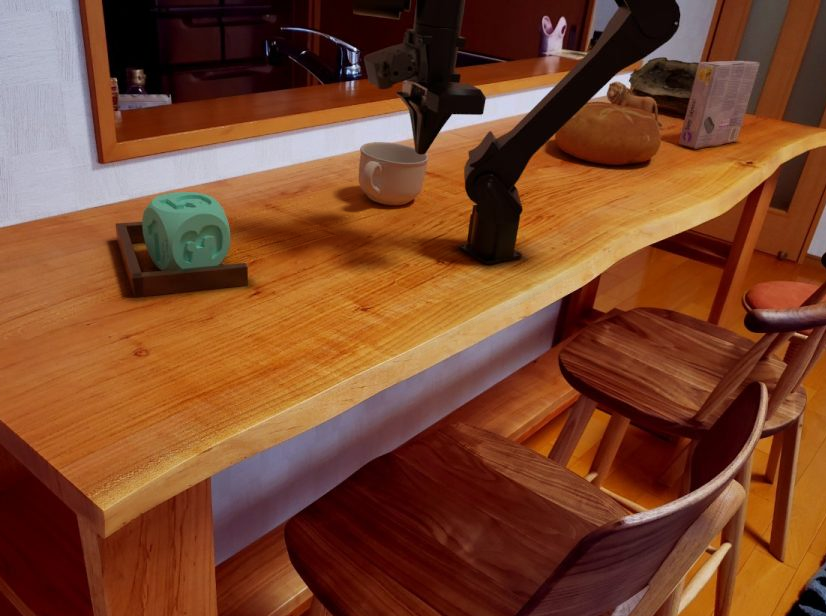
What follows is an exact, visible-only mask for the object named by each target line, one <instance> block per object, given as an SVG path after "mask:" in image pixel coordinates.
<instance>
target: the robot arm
mask: <svg viewBox="0 0 826 616" xmlns="http://www.w3.org/2000/svg"><path fill="white" fill-rule="evenodd" d="M613 1H614V2H615V4H616V6H617V7H618V8H617V10H616V11H615V13H613V15H612V16H611V17H610V20H609V21H608V22H607V24H606V26H605V27H604V29H603V30H602V33H601V34H600V36H599V38H598V40H597V41H596V43H595V44H594V46H593V47H592V48H591V49H590V50H589V52H587V53H586V54H585V55H584V56H583V57H582V59H581V60H579V61H578V63H577V64H576V65H575V66H573V67H572V68H571V69H570V70H569V71H568V73H567V74H566V75H565V76H563V78H561V80H559V82H558V83H556V85H555V86H554V87H552V89H550V90H549V91H548V93H547V94H546V95H545V96H544V97H542V99H541V100H540V101H539V102H538V103H537V104H536V105H535V106H534V107H533V108H532V109H531V110H530V111H529V112H527V114H526V115H525V116H524V117H523V118H522V119H521V120H520V121H519V122H518V123H517V124H516V125H515V126H514V127H513V128H512V129H510V130H509V131H508V132H506V133H504V134H503V135H500V136H498V137H496V136H495V135H494V133H493V131H491V130H489V131H488V132H487V134H486V135H485V136H484V138H483V139H482V140H481V142H480V143H479V144H478V145H477V146H476V147H475V148H472V149H470V150H468V153H467V154H468V158H467V160H466V162H465V164H464V169H463V177H464V178H463V180H464V190H465V193H466V195H467V197H468V199H469V200H470V201H471V202H473V203H474V204H473V205H472V210H471V214H470V217H469V224H468V232H467V237H466V238H467V239H466V243H461V244H459V245H458V249H459V250H461V251H462V252H464V253H465V254H467V255H469V256H471V257H472V258H474V259H475V260H478V261H479V262H481V263H482V264H485V265H494V264H499V263H502V262H507V261H512V260H518V259H521V258H522V256H523V253H522V252H520V251H518V250H516V244H517V237H518V232H519V228H520V227H519V226H520V219H521V215H522V213H523V208H524V207H523V205H522V202H521V198H520V197H521V196H520V195H519V191H518V190H519V189H518V187H516V186H515V185H516V184H517V182H518V181H519V180H520V179H521V176H522V175H523V173H524V171H525V169H526V167H527V166H528V164H529V163H530V160H531V159H532V157H533V156H534V155H535V154H536V153H537V152H538V151H539V150H541V148H542V147H543V146H544V145H545V144H547V142H548V141H550V140H551V138H553V136H555V134H556V132H557V131H558V130H560V129H561V128H562V127H563V126H564V125H565V124H566V123H567V122H568V121H569V120H570V119H571V118H572V117H573V116H574V115H575V114H576V113H577V112H578V111H579V110H580V109H581V108H582V107H583V106H584V105H585V104H586V103H588V102H590V100H592V98H594V97H595V95H597V93H599V92H600V91H601V90H602V89H603V88H604V87H605V86H606V85H607V84H608V83H609V82H610V81H611V80H612V79H613V78H614V77H615V76H617V74H619V73H620V72H621V71H623V70H625V69H627V68H629V67H630V66H633V65H634V64H636V63H638V62H640V61H642V60H643V59H646V58H647V57H649V56H650V55H651V54H652V53H654V52H655V51H657V50H658V49H659V48H661V47H662V46H664V45H665V44H666V43H668V42H669V41H670V40H671V39H672V38H673V37H674V36H675V34H676V33H677V32H678V30H679V27H680V21H681V15H682V14H681V9H680V6H679V3H678V2H677V0H613ZM415 2H416V4H415V11H414V19H413V21H414V22H413V29H412V28H406V31H405V32H404V34H403V41H402V43H398V44H396V45H391V46H387V47H385V48H382V49H379V50H377V51H373V52H370V53H368V54H365V55H364V57H363V61H364V66H365V70H366V74H367V79H368V83H369V84H370V85H374V86H375V87H376V88H377V90H378V89H379V90H388V89H391V88H393V86H395V85H397V84H399V83H402V87H401V89H402V90H401V91H396V92H395V93H396V95H397V97H398V98H399V99H400V100H401V101H402V103H404V104H405V106H406V107H407V109H408V113H409V119H410V125H411V131H412V139H413V145H414V148H415V152H416V153H418V154H425V153H426V154H427V152H428V151H429V149H430V147H431V146H432V144H433V143H434V142H435V140H436V138H437V137H438V135H439V133H440V132H441V130H442V129H443V128H444V126H446V124H447V123H448V121H449V119H450V118H451V117H452V115H459V116H460V115H461V116H463V115H464V116H465V115H466V116H467V115H468V116H471V115H472V116H473V115H474V116H482V115H484V111H485V107H486V99H487V97H486V96H485V93H483V91H482V89H481V88H479V87H476V86H474V85H472V84H469V83H467V82H461V77H462V76H461V75H462V74H461V73H459V72H457V71H456V64H457V59H458V51H459V48H466V42H467V38H466V37H463V36H461V30H462V25H463V18H464V12H465V5H466V0H416V1H415ZM411 5H412V0H352V13H353V14H354V15H359V16H368V17H376V18H383V19H384V18H385V19H391V20H400V18H401V13H402V14H403V13H405V12H411Z"/></svg>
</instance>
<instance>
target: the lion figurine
mask: <svg viewBox="0 0 826 616" xmlns="http://www.w3.org/2000/svg"><path fill="white" fill-rule="evenodd" d="M608 85H609V86H608V89H607V92H606V98H607V100H608V102H609V103H612V104H616V105H619V106H623V107H630V108H637V109H642V110H644V111H646V112H648V113H649V114H651V115H652V116H653V111H654V118H655V119H656V121H657V122H658V125H659V128H660V127H661V128H662V127H663V125H662V123H661V122H659V118H658V117H659V115H658V114H659V112H658V111H659V110H658V104H656V102H655V100H654V99H653V98H651V97H638V96H635V95H634V94H633V92H632V89H630V88H629V87H627V86H626V84H624V83H622V82H620V81H614V82H613V81H612V83H609V84H608Z"/></svg>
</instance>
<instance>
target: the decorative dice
mask: <svg viewBox="0 0 826 616" xmlns="http://www.w3.org/2000/svg"><path fill="white" fill-rule="evenodd" d="M141 222H142V228H143V235H144V240H145V242H144V243H145V247H146V250H147V252H148V255H149V257H150V259H151V261H152V262H153V264H154V266H156V268H158V269H159V270H160V271H165V270H175V269H186V268H196V267H206V266H217V265H222V263H223V262H224V260H225V259H226V257H227V255H228V253H229V251H230V248H231V230H230V224H229V221H228V218H227V215H226V212H225V210H224V208H223V207H222V205H221V204H220V202H219V201H218V200H217V199H215V198H214V197H213V196H211V195H209V194H205V193H201V192H195V191H175V192H168V193H164V194H160V195H158V196H156V197H154V198H153V199H151V201H150V202H149V203H148V204H147V206H146V208H145V210H144V211H143V214H142V219H141Z"/></svg>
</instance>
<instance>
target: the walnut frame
mask: <svg viewBox="0 0 826 616" xmlns="http://www.w3.org/2000/svg"><path fill="white" fill-rule="evenodd" d="M114 225H115V233H116V241H117V244H118V248H119V252H120V254H121V258H122V261H123V265H124V268H125V271H126V275H127V278H128V281H129V285H130V288H131V291H132V295H133V297H134V298H143V297H153V296H159V295H160V296H162V295H169V294H171V295H172V294H178V293H179V294H180V293H186V292H187V293H189V292H198V291H208V290H218V289H226V288H227V289H228V288H235V287H244V286H249V277H248V275H249V269H248V268H249V267H248V265H247V263H246V262H240V263H228V264H220V265H217V266H206V267H196V268H186V269H175V270H165V271H162V270H157V271H155V270H154V271H144V272H142V269H141V267H140V263H139V261H138V257H137V255H136V252H135V249H134V246H133V244H141V243H145V240H144V235H143V228H142V221H132V222H131V221H129V222H118V223H115V224H114Z"/></svg>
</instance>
